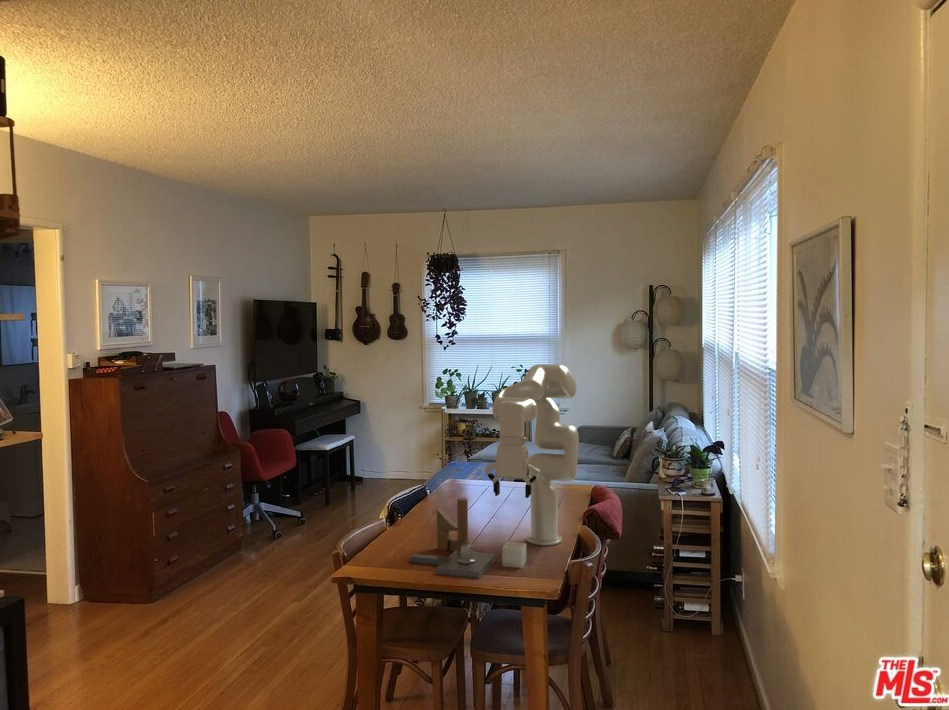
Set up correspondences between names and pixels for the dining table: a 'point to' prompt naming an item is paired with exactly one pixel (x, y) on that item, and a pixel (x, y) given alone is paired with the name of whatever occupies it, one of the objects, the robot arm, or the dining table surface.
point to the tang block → (459, 562)
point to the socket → (514, 554)
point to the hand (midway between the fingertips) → (512, 495)
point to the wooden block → (453, 527)
